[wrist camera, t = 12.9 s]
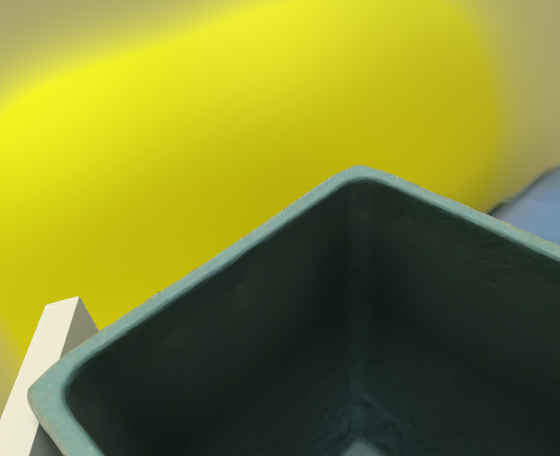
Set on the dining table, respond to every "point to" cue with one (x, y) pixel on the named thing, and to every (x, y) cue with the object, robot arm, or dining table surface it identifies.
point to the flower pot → (331, 340)
